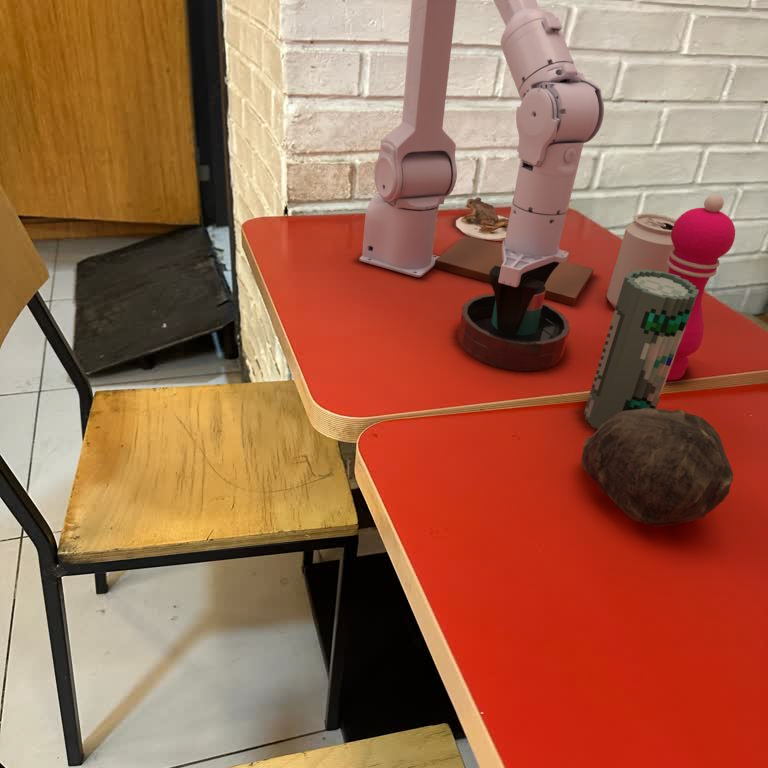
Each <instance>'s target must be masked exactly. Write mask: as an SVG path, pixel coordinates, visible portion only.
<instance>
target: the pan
mask: <svg viewBox="0 0 768 768" xmlns="http://www.w3.org/2000/svg"><path fill="white" fill-rule="evenodd" d="M494 304H495V295H494V293H488V294H481V295H478V296H475V297H472V298H470V299H468V300H467V301H466V302H465V303H464V304H463V306H462V308H461V313H460V321H459V327H458V333H457V340H458V343H459V345H460V347H461V348H462V350H464V352H465V353H467V354H468V355H469V356H471V357H472V358H473V359H475V360H478V361H479V362H481V363H484V364H486V365H488V366H491V367H494V368H498V369H501V370H508V371H514V372H537V371H543V370H547V369H549V368H552V367H554V366H555V365H557V364H559V362H560V361H561V359H562V357H563V354H564V353H565V349H566V346H567V342H568V338H569V335H570V331H571V327H570V322H569V320H568V319H567V318H566V317H565V315H564V314H563V313H562V312H561V311H559V310H558V309H557V308H555V307H553V306H552V305H550V304H547V303H545V302H543V307H542V311H541V315H540V319H539V323H538V328H537V331H536V334H535V338H534V341H519V340H512V339H507V338H503V337H500V336H497V335H493V334H491V333H489V331H490V326H491V319H492V314H493V309H494Z"/></svg>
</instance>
